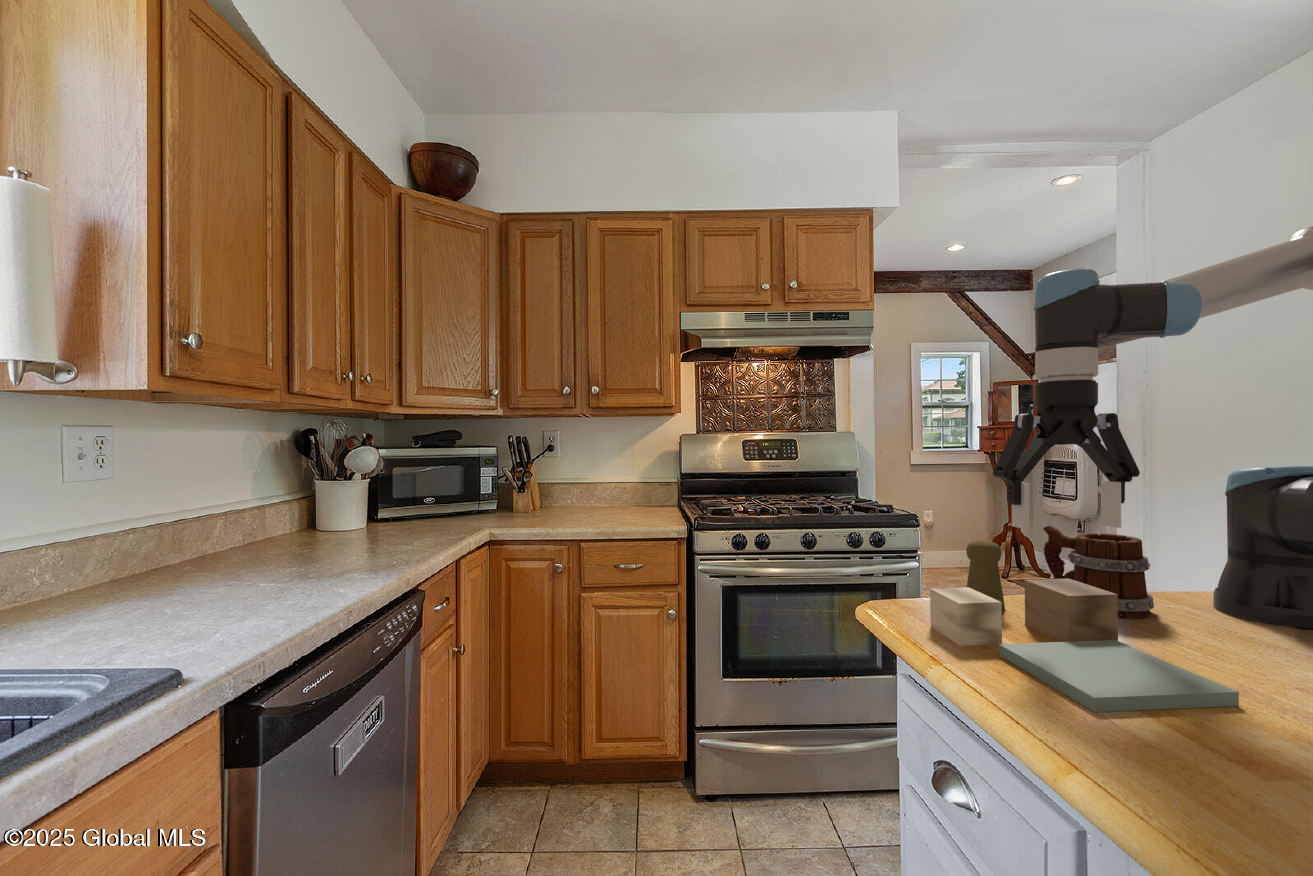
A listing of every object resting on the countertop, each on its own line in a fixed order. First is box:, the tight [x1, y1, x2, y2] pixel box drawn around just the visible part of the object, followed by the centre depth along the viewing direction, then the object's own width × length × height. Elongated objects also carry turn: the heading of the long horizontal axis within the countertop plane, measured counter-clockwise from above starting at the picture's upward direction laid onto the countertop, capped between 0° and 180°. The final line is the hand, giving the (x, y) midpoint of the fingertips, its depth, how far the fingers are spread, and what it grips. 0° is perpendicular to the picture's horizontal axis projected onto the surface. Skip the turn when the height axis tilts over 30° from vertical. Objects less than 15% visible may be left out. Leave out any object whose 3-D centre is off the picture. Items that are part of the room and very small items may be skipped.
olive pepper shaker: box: [965, 540, 1006, 612], centre depth 100 cm, size 6×6×11 cm
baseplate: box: [998, 640, 1240, 713], centre depth 71 cm, size 16×16×2 cm
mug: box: [1042, 525, 1155, 620], centre depth 99 cm, size 12×14×15 cm
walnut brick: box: [1024, 578, 1119, 642], centre depth 86 cm, size 7×9×7 cm
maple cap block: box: [929, 586, 1003, 647], centre depth 86 cm, size 6×8×6 cm
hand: (1065, 527), depth 86 cm, fingers open, 13 cm apart
